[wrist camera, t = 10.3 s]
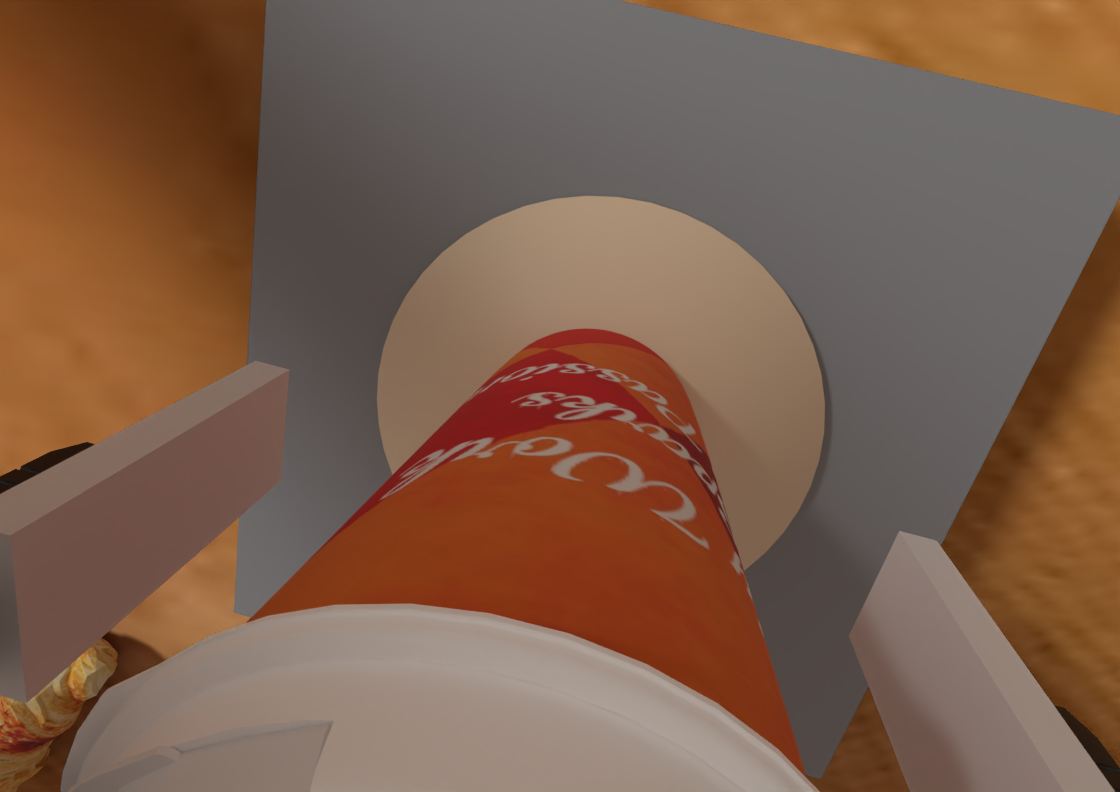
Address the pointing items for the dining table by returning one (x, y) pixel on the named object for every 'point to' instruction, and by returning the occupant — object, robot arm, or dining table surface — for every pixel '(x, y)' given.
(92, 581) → the robot arm
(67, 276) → the dining table surface
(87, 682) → the croissant
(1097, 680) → the dining table surface
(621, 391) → the paper cup
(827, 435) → the plinth
